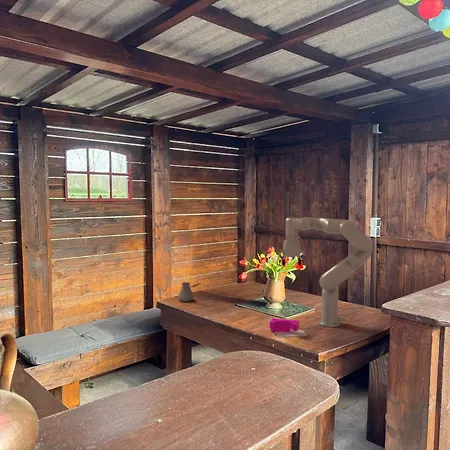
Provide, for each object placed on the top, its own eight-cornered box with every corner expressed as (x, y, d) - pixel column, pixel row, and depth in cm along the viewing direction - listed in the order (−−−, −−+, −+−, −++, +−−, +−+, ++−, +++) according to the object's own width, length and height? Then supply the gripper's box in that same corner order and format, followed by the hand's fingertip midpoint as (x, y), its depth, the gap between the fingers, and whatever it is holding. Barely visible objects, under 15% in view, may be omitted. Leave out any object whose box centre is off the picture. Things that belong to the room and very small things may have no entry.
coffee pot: (174, 300, 293) (174, 280, 292) (187, 297, 301) (186, 278, 300) (194, 306, 278) (194, 284, 277) (206, 302, 286) (206, 282, 285)
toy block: (272, 328, 228) (269, 333, 221) (272, 318, 228) (269, 321, 220) (298, 331, 223) (296, 335, 216) (298, 320, 223) (297, 324, 216)
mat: (302, 330, 226) (302, 329, 226) (307, 336, 217) (307, 335, 217) (274, 331, 224) (274, 331, 224) (278, 337, 215) (278, 336, 215)
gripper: (303, 237, 249) (303, 264, 250) (276, 237, 247) (276, 265, 248) (307, 238, 241) (307, 266, 243) (279, 238, 239) (279, 267, 240)
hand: (291, 265), depth 245 cm, fingers open, 9 cm apart
